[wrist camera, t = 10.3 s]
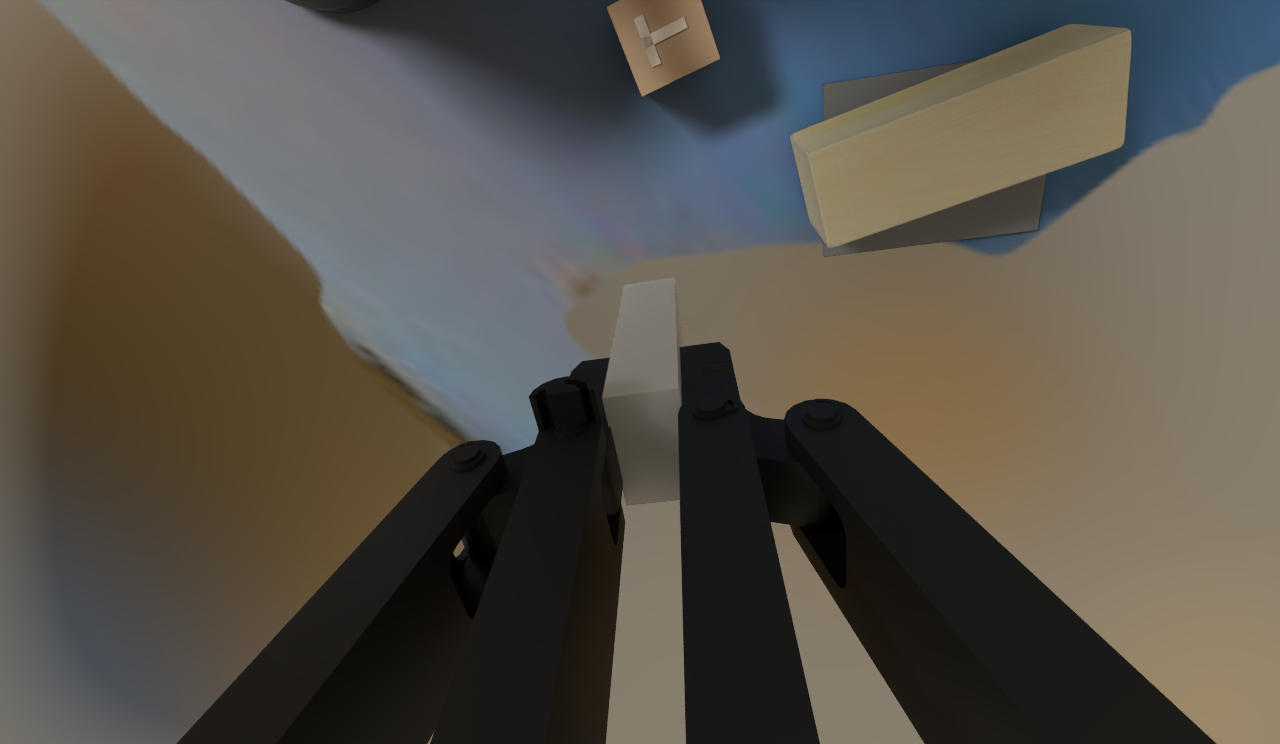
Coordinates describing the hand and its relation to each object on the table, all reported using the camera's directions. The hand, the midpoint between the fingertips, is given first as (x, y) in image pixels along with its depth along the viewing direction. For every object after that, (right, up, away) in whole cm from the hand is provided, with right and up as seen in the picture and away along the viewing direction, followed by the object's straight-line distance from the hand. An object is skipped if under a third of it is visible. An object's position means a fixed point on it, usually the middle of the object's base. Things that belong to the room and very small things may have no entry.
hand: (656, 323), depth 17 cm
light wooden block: (+13, +13, +29) cm, 34 cm away
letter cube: (+1, +25, +27) cm, 37 cm away
